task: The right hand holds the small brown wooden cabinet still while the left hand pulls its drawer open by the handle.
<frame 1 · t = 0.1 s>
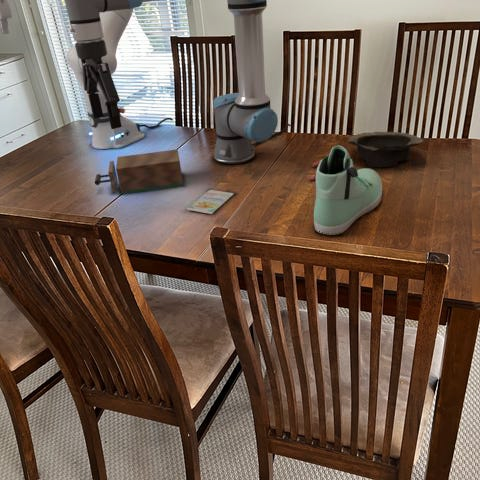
left hand: (0, 33, 160), 48 cm above the table, tool pointing down, fingers open, 8 cm apart
right hand: (107, 122, 133), 28 cm above the table, tool pointing down, fingers open, 13 cm apart
cabinet: (152, 183, 164), on the table
baking ingredient package: (211, 202, 149), on the table
drawer: (132, 173, 161), point 5 cm above the table, slide at 1.5 cm
sneaker: (348, 208, 139), on the table
stone bowl: (382, 158, 169), on the table
candy cane: (317, 172, 162), on the table
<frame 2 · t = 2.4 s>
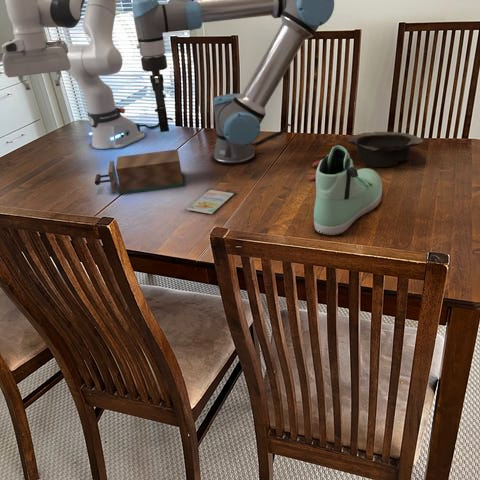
left hand: (43, 87, 158), 32 cm above the table, tool pointing down, fingers open, 8 cm apart
right hand: (164, 124, 154), 20 cm above the table, tool pointing down, fingers open, 13 cm apart
nothing on the table moved.
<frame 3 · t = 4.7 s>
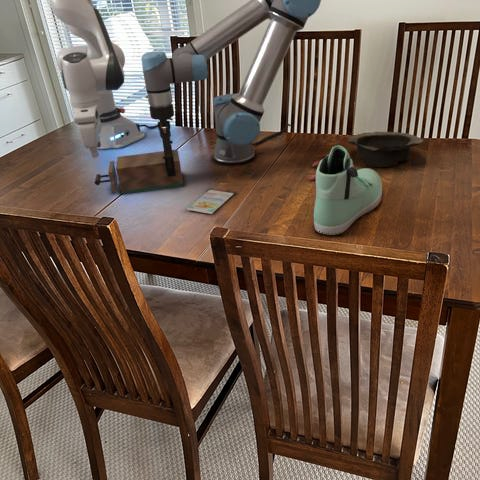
left hand: (97, 151, 155), 14 cm above the table, tool pointing down, fingers open, 8 cm apart
right hand: (170, 169, 162), 4 cm above the table, tool pointing down, fingers closed on cabinet, 11 cm apart
cabinet: (152, 183, 164), on the table, touching right hand
everything else where it was.
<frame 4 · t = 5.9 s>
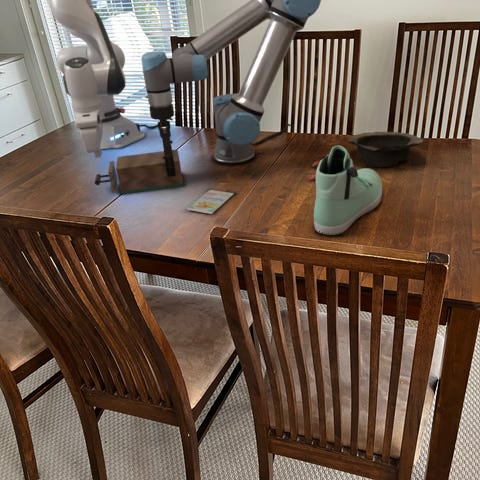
left hand: (98, 156, 156), 12 cm above the table, tool pointing down, fingers closed
right hand: (170, 169, 162), 4 cm above the table, tool pointing down, fingers closed on cabinet, 11 cm apart
cabinet: (152, 183, 164), on the table, touching right hand
everything else where it was.
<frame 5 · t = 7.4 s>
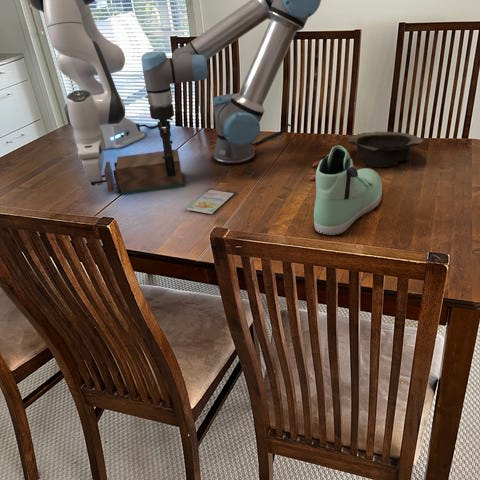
left hand: (100, 183, 161), 3 cm above the table, tool pointing down, fingers closed, pressing on drawer
right hand: (170, 169, 162), 4 cm above the table, tool pointing down, fingers closed on cabinet, 11 cm apart
cabinet: (152, 183, 164), on the table, touching right hand
drawer: (128, 174, 161), point 5 cm above the table, slide at 2.8 cm, touching left hand
everything else where it was.
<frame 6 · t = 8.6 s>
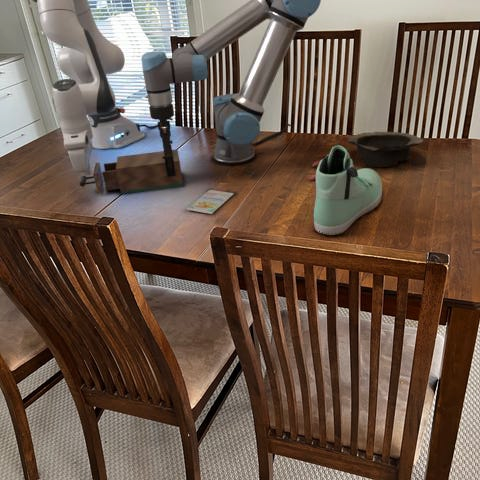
left hand: (88, 173, 159), 6 cm above the table, tool pointing down, fingers closed
right hand: (170, 169, 162), 4 cm above the table, tool pointing down, fingers closed on cabinet, 11 cm apart
cabinet: (152, 183, 164), on the table, touching right hand
drawer: (117, 175, 160), point 5 cm above the table, slide at 6.2 cm
everything else where it was.
when the right hand's fingers open (4 cm above the table, at t = 9.8 s): cabinet stays where it is, on the table.
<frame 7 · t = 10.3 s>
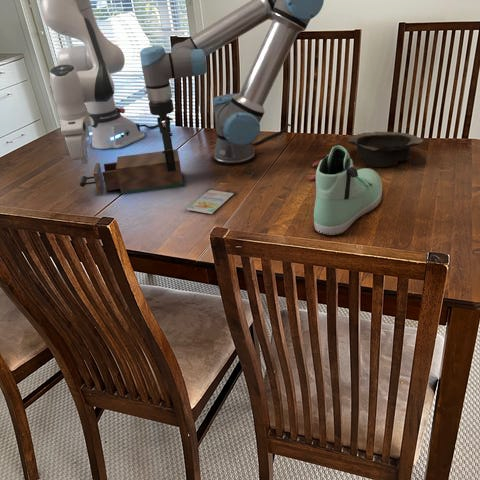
left hand: (85, 162, 156), 10 cm above the table, tool pointing down, fingers closed
right hand: (170, 163, 161), 6 cm above the table, tool pointing down, fingers open, 13 cm apart
cabinet: (152, 183, 164), on the table
everything else where it was.
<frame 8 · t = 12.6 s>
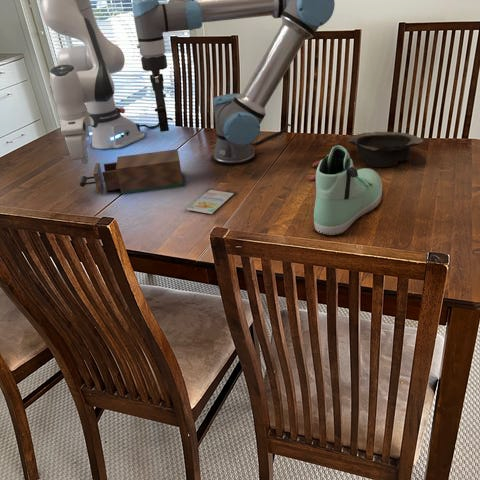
left hand: (85, 162, 156), 10 cm above the table, tool pointing down, fingers closed
right hand: (163, 124, 154), 20 cm above the table, tool pointing down, fingers open, 13 cm apart
nothing on the table moved.
at the end: drawer slide at 6.2 cm; cabinet tilted 0°; cabinet never tilted more than 1° during the clip; cabinet moved 0.1 cm from its start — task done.
